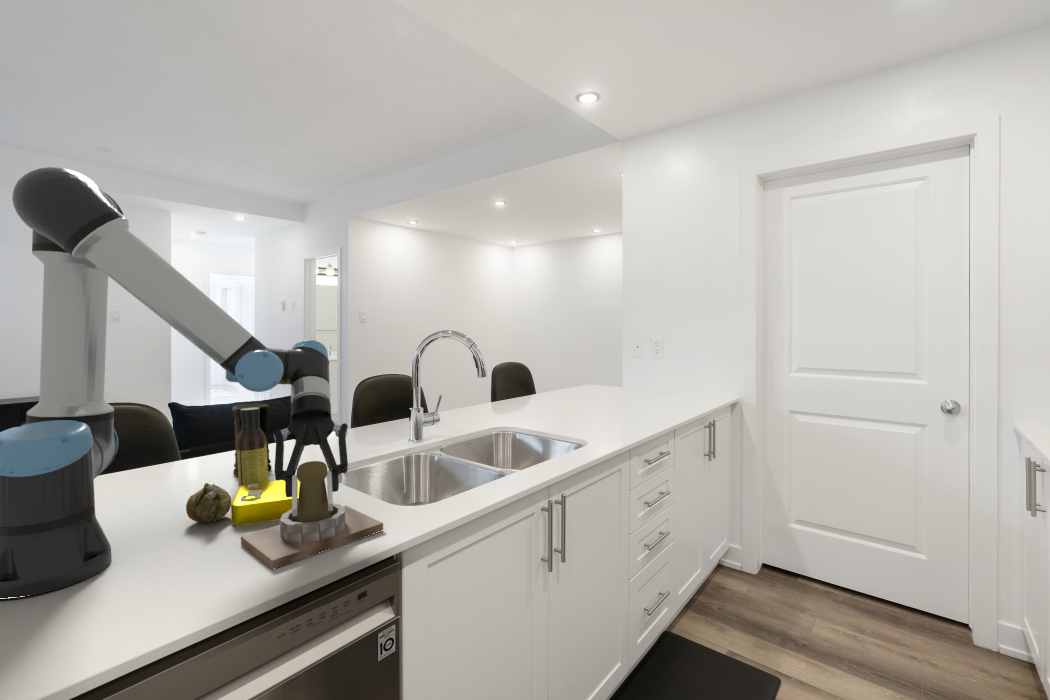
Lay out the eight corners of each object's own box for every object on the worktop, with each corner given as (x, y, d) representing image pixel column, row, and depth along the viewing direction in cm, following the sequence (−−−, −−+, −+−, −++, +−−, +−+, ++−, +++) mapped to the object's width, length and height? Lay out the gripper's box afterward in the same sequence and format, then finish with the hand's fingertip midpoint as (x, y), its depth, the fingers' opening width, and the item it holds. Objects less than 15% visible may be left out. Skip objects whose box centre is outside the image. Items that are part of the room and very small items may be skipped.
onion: (242, 514, 103) (240, 476, 102) (208, 530, 95) (206, 488, 95) (213, 511, 105) (211, 473, 104) (177, 526, 97) (175, 485, 97)
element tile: (313, 516, 102) (313, 493, 102) (230, 528, 96) (229, 504, 96) (313, 494, 116) (313, 473, 116) (240, 503, 110) (239, 482, 110)
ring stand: (272, 569, 79) (271, 542, 79) (241, 544, 88) (240, 519, 88) (383, 530, 94) (382, 507, 94) (346, 512, 103) (345, 491, 103)
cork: (337, 515, 94) (335, 458, 93) (320, 528, 88) (319, 467, 87) (306, 514, 94) (305, 457, 94) (288, 527, 88) (286, 466, 88)
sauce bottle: (275, 490, 118) (272, 407, 117) (251, 498, 112) (248, 411, 111) (256, 487, 120) (253, 405, 119) (232, 495, 114) (228, 409, 114)
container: (238, 469, 135) (235, 403, 135) (274, 466, 138) (272, 402, 137) (229, 478, 127) (226, 409, 126) (268, 475, 130) (265, 407, 129)
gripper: (356, 411, 108) (365, 511, 94) (262, 418, 101) (256, 527, 86) (358, 390, 103) (367, 492, 88) (259, 395, 96) (252, 507, 81)
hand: (312, 509), depth 87 cm, fingers closed on cork, 5 cm apart
